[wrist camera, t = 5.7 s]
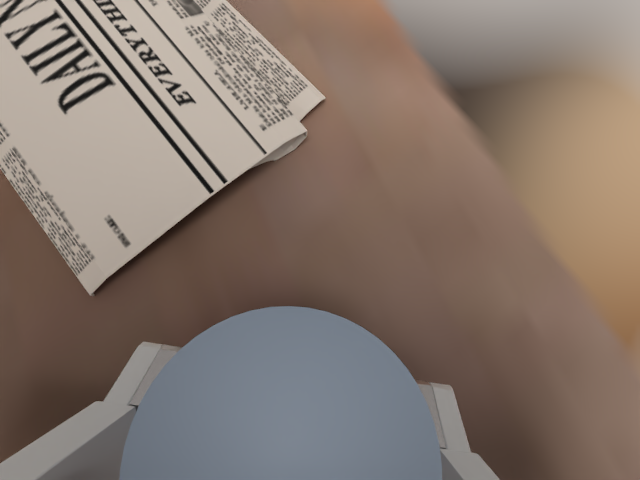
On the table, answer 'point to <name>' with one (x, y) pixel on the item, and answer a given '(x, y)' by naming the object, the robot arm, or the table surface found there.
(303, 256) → the table surface
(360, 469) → the blue peg
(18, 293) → the table surface
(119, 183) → the newspaper
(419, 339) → the table surface
